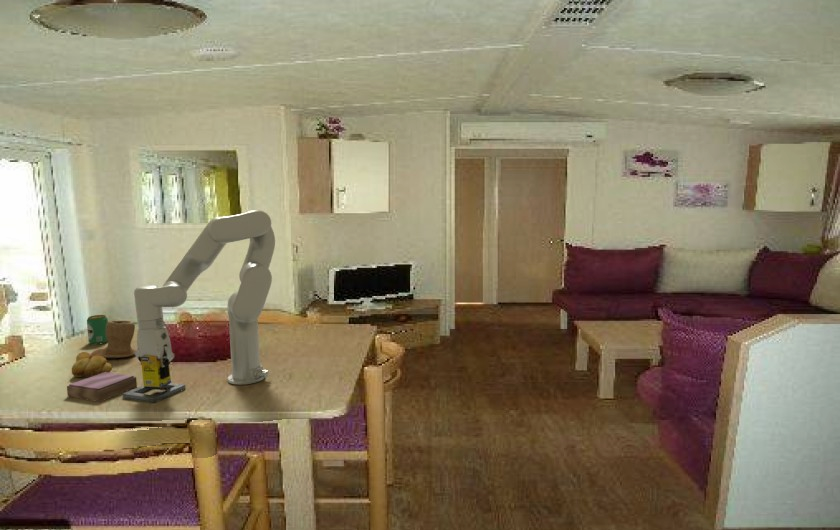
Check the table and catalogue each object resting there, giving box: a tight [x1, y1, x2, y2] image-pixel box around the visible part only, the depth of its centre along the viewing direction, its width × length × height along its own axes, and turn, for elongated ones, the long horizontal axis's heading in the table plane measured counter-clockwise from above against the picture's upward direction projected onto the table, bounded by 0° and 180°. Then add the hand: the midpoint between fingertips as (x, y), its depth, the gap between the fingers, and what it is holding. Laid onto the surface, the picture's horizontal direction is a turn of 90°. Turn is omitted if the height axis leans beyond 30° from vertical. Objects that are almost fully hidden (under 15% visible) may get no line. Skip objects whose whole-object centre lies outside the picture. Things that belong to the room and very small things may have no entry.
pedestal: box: [66, 372, 138, 402], centre depth 172 cm, size 14×14×4 cm
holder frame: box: [122, 382, 186, 404], centre depth 170 cm, size 13×13×2 cm
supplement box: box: [140, 355, 172, 390], centre depth 170 cm, size 6×6×11 cm
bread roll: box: [71, 351, 113, 378], centre depth 190 cm, size 13×10×8 cm
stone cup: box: [89, 320, 137, 359], centre depth 212 cm, size 15×12×15 cm
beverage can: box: [86, 314, 109, 345], centre depth 234 cm, size 8×8×12 cm
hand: (156, 376), depth 170 cm, fingers closed on supplement box, 6 cm apart
